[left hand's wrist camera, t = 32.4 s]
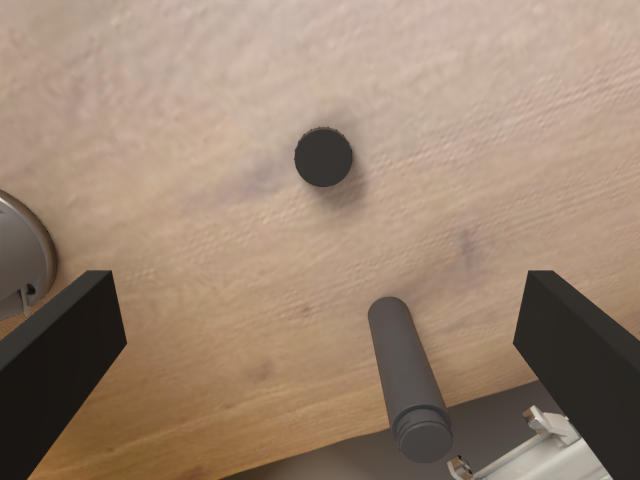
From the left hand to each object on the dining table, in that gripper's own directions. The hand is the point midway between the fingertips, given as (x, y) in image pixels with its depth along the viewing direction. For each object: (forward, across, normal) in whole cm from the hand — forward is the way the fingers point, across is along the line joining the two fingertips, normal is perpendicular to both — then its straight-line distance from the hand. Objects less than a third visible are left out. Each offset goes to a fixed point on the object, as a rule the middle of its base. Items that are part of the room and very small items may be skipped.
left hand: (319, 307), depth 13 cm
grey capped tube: (+28, +8, -18) cm, 35 cm away
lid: (+27, 0, 0) cm, 27 cm away
